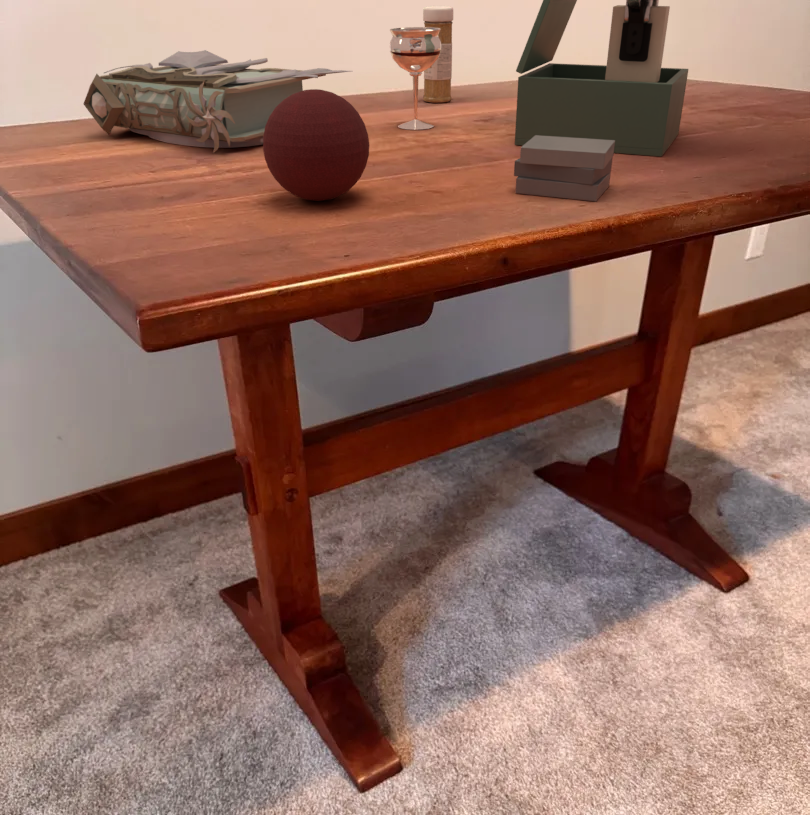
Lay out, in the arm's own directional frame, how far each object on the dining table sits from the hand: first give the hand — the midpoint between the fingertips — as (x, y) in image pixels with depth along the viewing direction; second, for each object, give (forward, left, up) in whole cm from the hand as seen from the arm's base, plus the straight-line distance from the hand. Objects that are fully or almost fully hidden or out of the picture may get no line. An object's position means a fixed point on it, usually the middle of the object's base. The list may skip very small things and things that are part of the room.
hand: (635, 57), depth 94 cm
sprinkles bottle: (+33, -20, -10) cm, 40 cm away
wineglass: (+28, 0, -10) cm, 30 cm away
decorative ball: (+22, +37, -10) cm, 44 cm away
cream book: (0, 0, -3) cm, 3 cm away
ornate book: (+51, +13, -10) cm, 54 cm away
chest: (+3, 0, -10) cm, 10 cm away
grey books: (+1, +25, -10) cm, 27 cm away
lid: (+9, 0, +7) cm, 11 cm away
